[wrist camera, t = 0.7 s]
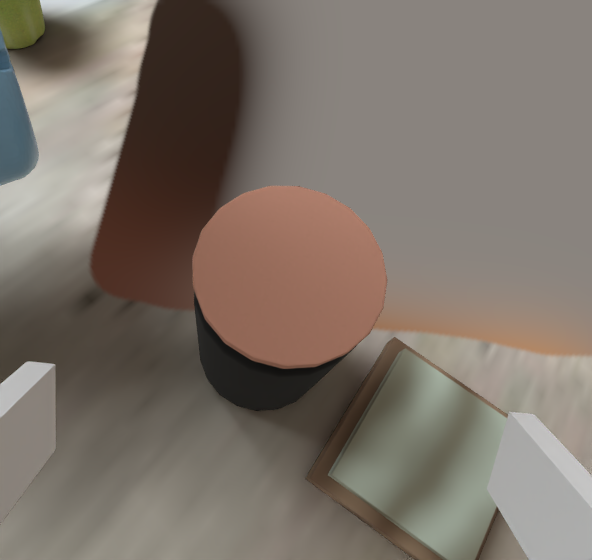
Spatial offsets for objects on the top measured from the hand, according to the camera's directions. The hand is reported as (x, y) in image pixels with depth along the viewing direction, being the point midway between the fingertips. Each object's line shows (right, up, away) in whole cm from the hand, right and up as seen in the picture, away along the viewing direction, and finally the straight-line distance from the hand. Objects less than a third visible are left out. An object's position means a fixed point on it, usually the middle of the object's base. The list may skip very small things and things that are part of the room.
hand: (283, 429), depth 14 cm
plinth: (+11, -11, +27) cm, 31 cm away
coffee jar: (-3, -2, +28) cm, 28 cm away
